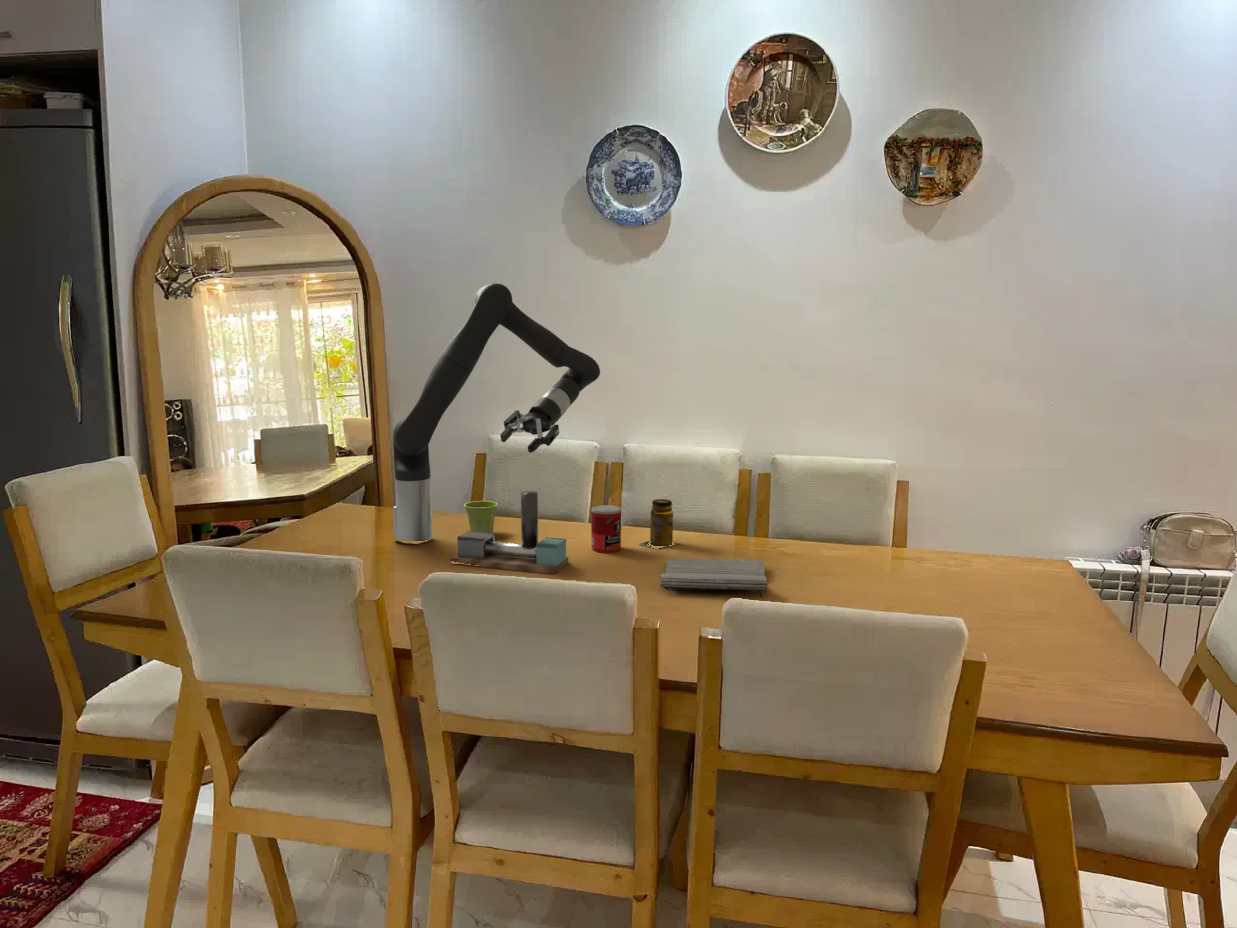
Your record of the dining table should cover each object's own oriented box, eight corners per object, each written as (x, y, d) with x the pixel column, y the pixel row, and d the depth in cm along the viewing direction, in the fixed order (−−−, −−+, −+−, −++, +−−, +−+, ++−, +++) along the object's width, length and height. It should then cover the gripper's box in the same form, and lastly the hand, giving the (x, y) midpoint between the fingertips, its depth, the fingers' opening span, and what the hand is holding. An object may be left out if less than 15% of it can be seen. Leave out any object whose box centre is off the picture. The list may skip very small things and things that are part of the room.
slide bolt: (478, 555, 202) (476, 491, 199) (485, 551, 206) (483, 488, 203) (553, 562, 196) (553, 496, 194) (559, 558, 200) (559, 493, 198)
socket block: (536, 564, 196) (536, 543, 195) (547, 556, 203) (546, 537, 202) (556, 566, 195) (555, 545, 194) (566, 558, 201) (566, 538, 200)
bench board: (450, 563, 201) (450, 557, 201) (469, 553, 211) (469, 547, 210) (553, 574, 194) (553, 567, 193) (568, 562, 203) (568, 556, 203)
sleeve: (457, 556, 202) (457, 536, 202) (469, 549, 208) (469, 530, 208) (483, 558, 200) (483, 539, 200) (494, 552, 206) (494, 532, 206)
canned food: (609, 554, 210) (609, 513, 209) (585, 549, 215) (585, 508, 213) (626, 548, 216) (627, 507, 215) (603, 543, 221) (603, 503, 219)
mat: (763, 570, 200) (764, 551, 199) (766, 602, 177) (767, 580, 176) (668, 565, 203) (668, 547, 202) (659, 596, 180) (659, 575, 179)
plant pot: (458, 537, 227) (457, 506, 226) (474, 529, 236) (473, 499, 235) (489, 539, 225) (488, 508, 223) (503, 531, 233) (503, 501, 232)
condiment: (679, 544, 221) (680, 500, 219) (657, 550, 215) (658, 505, 213) (659, 539, 226) (660, 496, 224) (638, 544, 221) (638, 501, 219)
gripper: (526, 389, 220) (490, 425, 210) (571, 405, 214) (536, 442, 205) (530, 410, 225) (495, 446, 216) (574, 426, 220) (540, 464, 210)
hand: (515, 444), depth 210 cm, fingers open, 8 cm apart
